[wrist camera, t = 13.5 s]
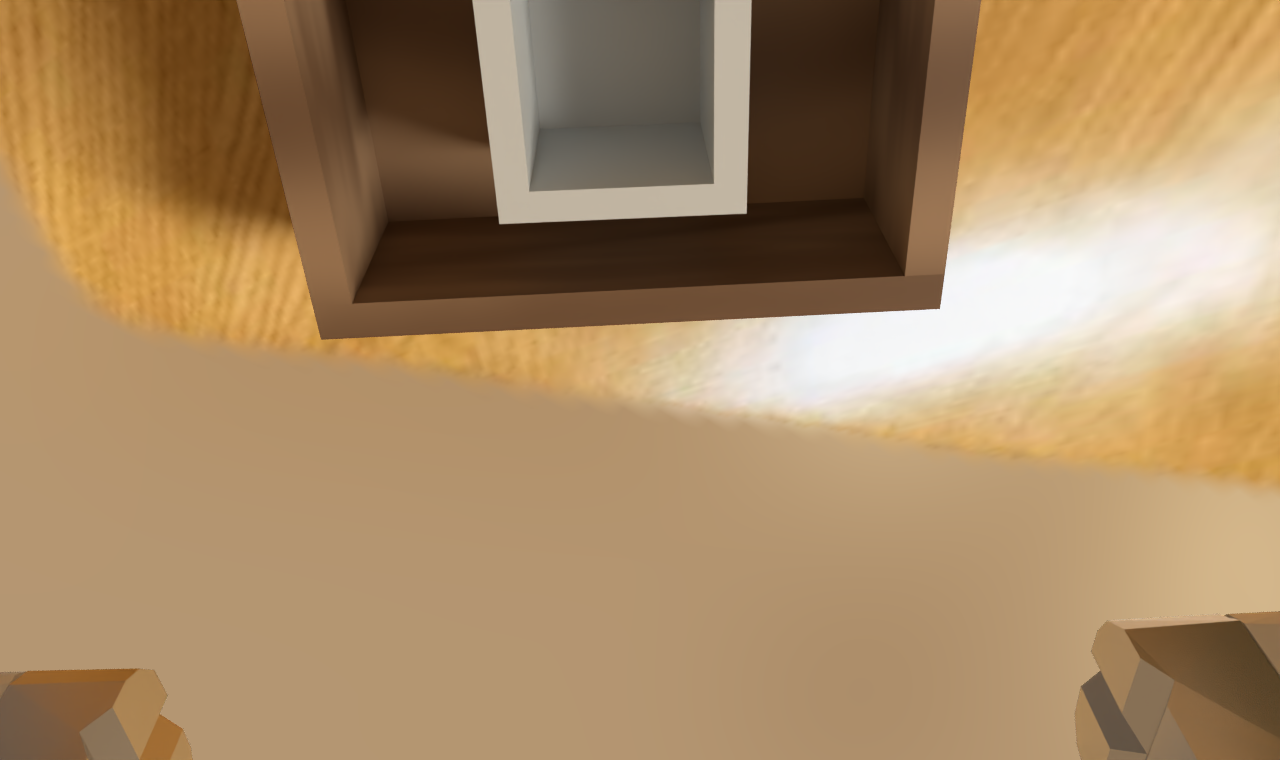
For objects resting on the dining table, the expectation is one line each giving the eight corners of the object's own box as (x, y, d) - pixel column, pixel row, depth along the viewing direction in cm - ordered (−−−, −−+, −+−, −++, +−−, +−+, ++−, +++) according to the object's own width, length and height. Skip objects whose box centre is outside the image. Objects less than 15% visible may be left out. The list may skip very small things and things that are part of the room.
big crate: (274, -210, 25) (188, -191, 20) (930, -244, 25) (1012, -234, 20) (367, 240, 31) (321, 339, 26) (886, 213, 31) (940, 308, 26)
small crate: (491, -79, 26) (467, -39, 21) (729, -89, 26) (753, -51, 21) (515, 150, 29) (499, 224, 25) (727, 141, 29) (746, 213, 25)
